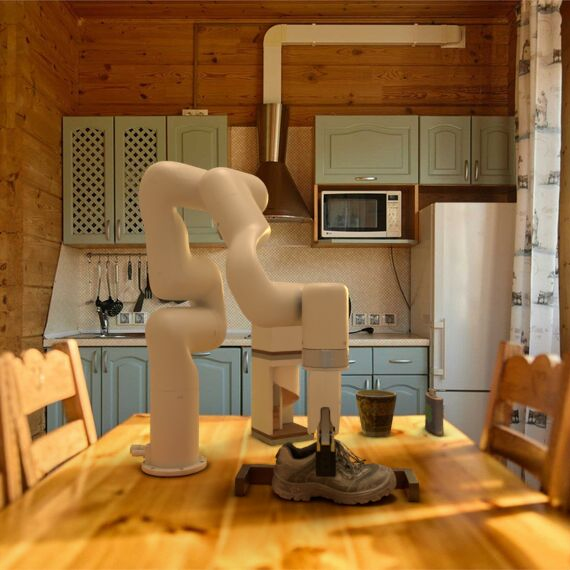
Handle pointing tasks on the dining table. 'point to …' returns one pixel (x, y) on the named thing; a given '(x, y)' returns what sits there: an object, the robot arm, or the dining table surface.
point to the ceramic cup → (376, 411)
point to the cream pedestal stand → (276, 384)
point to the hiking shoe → (342, 488)
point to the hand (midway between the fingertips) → (325, 474)
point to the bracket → (265, 474)
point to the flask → (433, 413)
